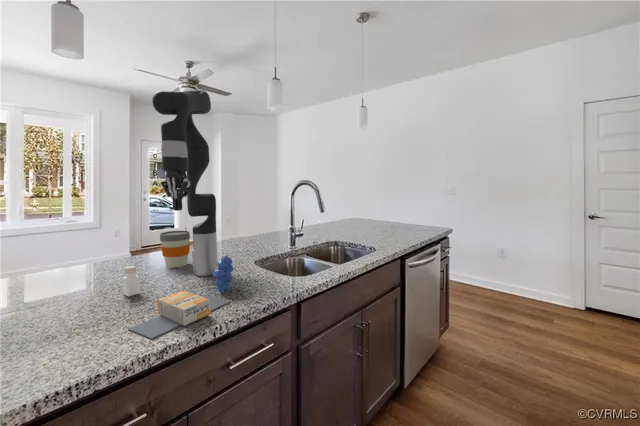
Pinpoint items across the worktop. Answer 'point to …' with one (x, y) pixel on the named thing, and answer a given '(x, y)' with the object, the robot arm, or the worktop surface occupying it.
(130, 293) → the pepper shaker
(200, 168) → the robot arm
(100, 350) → the worktop surface
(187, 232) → the reusable coffee cup
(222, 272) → the grapes
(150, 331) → the rubber mat
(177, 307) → the supplement box
